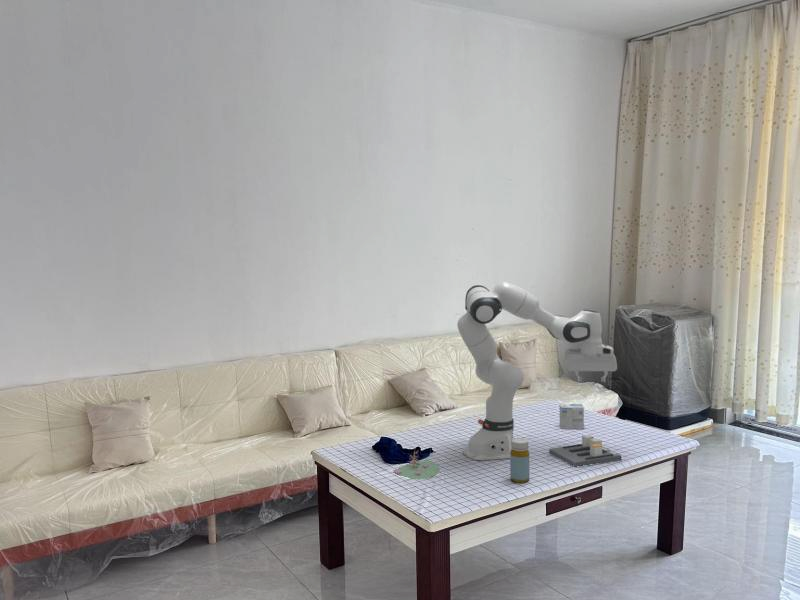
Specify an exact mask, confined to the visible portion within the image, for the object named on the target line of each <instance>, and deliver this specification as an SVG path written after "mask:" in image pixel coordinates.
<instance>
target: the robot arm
mask: <svg viewBox="0 0 800 600" xmlns="http://www.w3.org/2000/svg"><path fill="white" fill-rule="evenodd" d="M464 300H465V303H464V305H465V307H464V308H465V311H466V313H465V314H463V315H462V316H460V317H459V318H458V321H457V325H456V326H457V329H458V333H459V334H460V337H461V339H462V340H463V342H464V345H465V346H466V348H467V349H468V351H469V353H470V355H471V356H472V358H473V360H474V362H475V369H474V370H475V375H476V377H477V378H478V379H479V380H480V381H482V382H483V383H485V384H487V385H489V386H492V390H491V395H490V396H488V398H486V401H485V419H484V420H483V419H481V418H479V419H478V420H477V423H478V424H479V425H482V426H481V427H480V429H479V430H478V431H476V432H475V433H474V434H473V435H471V437H470V438H469V441H468V444H467V447H464V448H463V450H462V453H463V454H464V455H465V456H466V457H468V458H469V459H471V460H474V461H489V460H502V459H503V460H505V459H510V452H511V449H512V448H511V447H512V446H511V440H512V439H514V428H515V427H514V426H515V425H514V418H513V408H514V407H513V405H514V398H515V395H516V392H517V390H518V389H519V388H521V386H522V385H523V383H524V381H525V380H524V377H525V375H524V372H523V370H522V369H521V368H520V367H518V366H517V365H515V364H513V363H512V362H511V363H510V362H507V361H504V360H502V359H501V358H500V357H499V356H498V353H497V352H498V344H497V342H496V341H495V339H494V337H493V335H492V334H491V332H490V330H489V328H488V327H487V325H486V324H489V323H490V322H491V323H492V321H493V320H495V318H496V317H497V316H498V315H500V314H501V312H502V310H503V311H506V312H508V313H510V314H512V315H513V316H515V317H518V318H520V319H523V320H531V321H533V322H535V323H537V324H538V325H540V326H542V327H544V328H546V330H547V331H548V333H549V334H550V335H551V336H552V337H553V338H554V339H556V340H560V341H564V342H566V343H571V344H575V343H579V348H568V349H567V350H565V352H564V357H565V359H566V364H565V369H566V371H567V372H574V374H575V376H576V377H577V382H579V383H580V382H581V383H582V382H583V381H582V376H580V375H579V372H603V373H604V375H603V376H601V378H600V379H601V382H602V383H606V378H607V376H608V375H609V372H616V371H617V370H618V363H617V357H616V355H615V353H614V348H613V347H612V346H611V345H607V344H603V340H602V333H603V325H602V317H601V314H600V313H599V312H598V311H596V310H591V309H581V310H580V311H579V313H577V314H576V315H574V316H572V317H567V316H565V315H556V314H553V313H551V312H549V311H548V310H546V309H544V308H542V307H541V306H540V302H539V299H538V298H537V297H536V296H535V295H534V294H532V292H530V291H528V290H526V289H524V288H522V287H521V286H518V285H516V284H514V283H511V282H508V281H500V282H499V283H497V284H496V285H495V286H494V288H493V289H492V290H489V289H488V287H486V286H484V285H480V284H477V285H472V286H471V287H470V288H469V289H468V290H467V291H466V295H465V299H464Z"/></svg>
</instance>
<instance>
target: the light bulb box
mask: <svg viewBox="0 0 800 600" xmlns="http://www.w3.org/2000/svg"><path fill="white" fill-rule="evenodd" d="M558 405H559V427H560V429H561V430H585V415H584V413H585V409H584V406H583V404H582V403H559V404H558Z"/></svg>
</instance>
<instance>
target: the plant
mask: <svg viewBox="0 0 800 600" xmlns="http://www.w3.org/2000/svg"><path fill="white" fill-rule="evenodd" d="M418 453H419V451H416V447H415V448H414V452H413V455H412V454H410V455H409V462H410V463H409V464H406V465H404V466H402V467H399V468H398V469H395V470H393V471H394V472H393V473H395V474H397V475H399V476H404V477H408V478H410V479H417V480H418V481H420V480H427V479H429V478H433V477H435V476H436V475H438V473H439V471H440V468H439V466H438V464H437V463H435V462H434V461H432V460H419V457H420V456H419V455H418ZM417 480H416V481H417Z"/></svg>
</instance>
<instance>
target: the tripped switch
mask: <svg viewBox="0 0 800 600" xmlns="http://www.w3.org/2000/svg"><path fill="white" fill-rule="evenodd" d="M602 447H603V444H602V445H600V444H598V443H597V444H590V455H591V456H593V457H595V456H602Z"/></svg>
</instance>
